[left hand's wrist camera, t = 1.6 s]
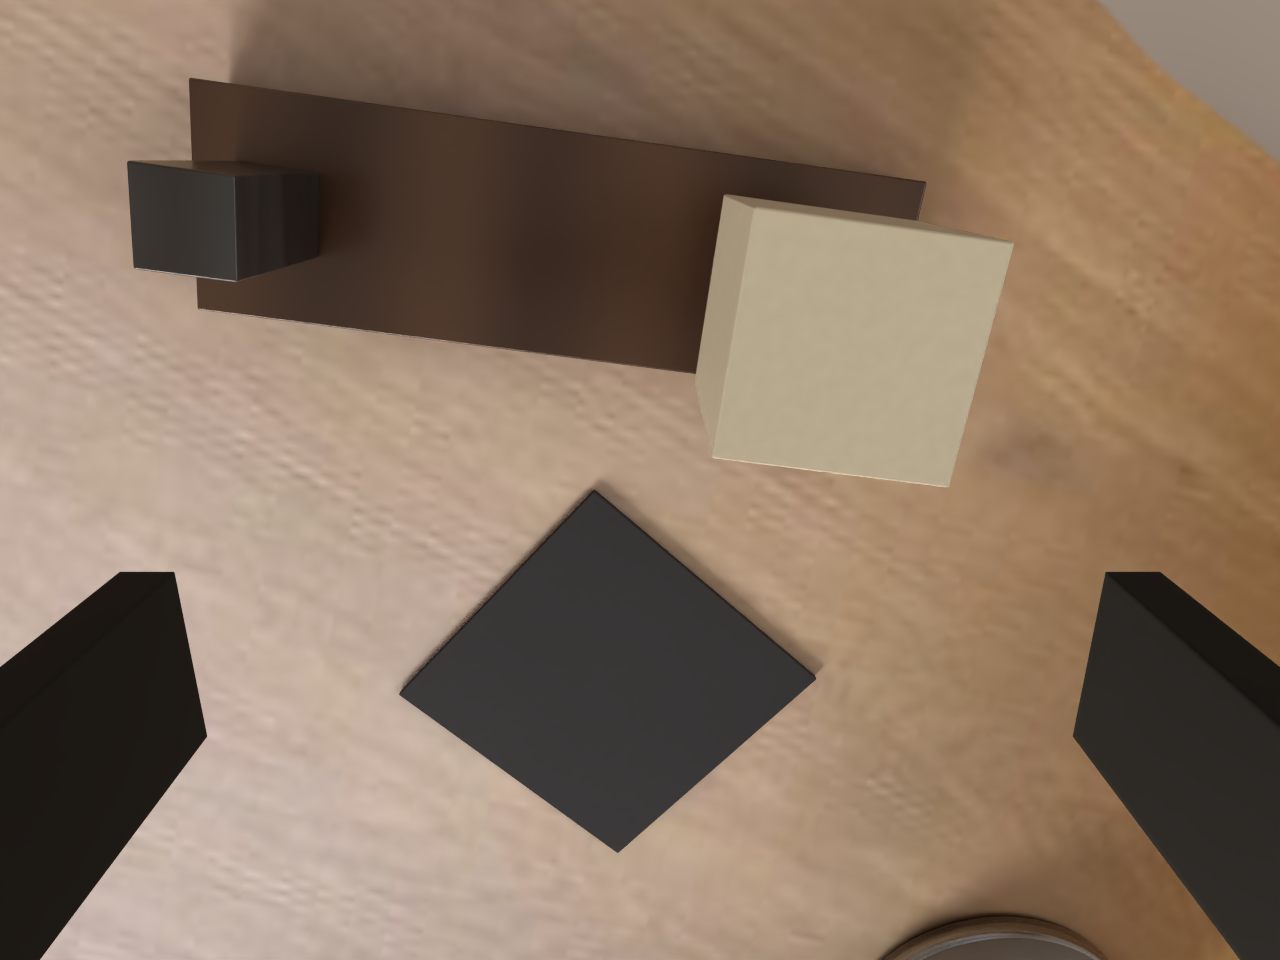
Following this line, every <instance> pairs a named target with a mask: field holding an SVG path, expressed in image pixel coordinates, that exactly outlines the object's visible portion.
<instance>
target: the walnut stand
mask: <svg viewBox="0 0 1280 960" xmlns="http://www.w3.org/2000/svg"><path fill="white" fill-rule="evenodd" d="M189 92H190V118H191V144H192V161H128V162H127V167H128V183H129V199H130V215H131V231H132V248H133V264H134V268H135V269H139V270H146V271H154V272H162V273H169V274H177V275H184V276H192V277H197V299H198V309H199V310H206V311H214V312H221V313H229V314H237V315H245V316H252V317H260V318H268V319H276V320H283V321H291V322H299V323H306V324H314V325H322V326H330V327H337V328H345V329H353V330H360V331H368V332H376V333H384V334H391V335H399V336H407V337H415V338H422V339H430V340H438V341H445V342H453V343H461V344H469V345H476V346H484V347H492V348H499V349H507V350H515V351H523V352H530V353H538V354H546V355H554V356H561V357H569V358H577V359H584V360H592V361H600V362H608V363H615V364H623V365H631V366H638V367H646V368H654V369H662V370H669V371H677V372H685V373H693V374H696V370H697V364H698V357H699V351H700V345H701V338H702V332H703V325H704V319H705V313H706V306H707V300H708V294H709V287H710V281H711V274H712V268H713V262H714V255H715V249H716V242H717V236H718V230H719V223H720V217H721V210H722V204H723V198H724V195H725V194H728V195H735V196H742V197H750V198H757V199H764V200H771V201H778V202H786V203H793V204H800V205H807V206H814V207H821V208H829V209H836V210H843V211H850V212H857V213H865V214H872V215H879V216H886V217H893V218H901V219H908V220H915V221H918V218H919V213H920V209H921V204H922V200H923V196H924V191H925V187H926V182H924V181H917V180H910V179H903V178H896V177H889V176H882V175H875V174H868V173H860V172H853V171H846V170H839V169H832V168H825V167H818V166H811V165H804V164H797V163H790V162H783V161H776V160H768V159H761V158H754V157H747V156H740V155H733V154H726V153H719V152H712V151H705V150H698V149H691V148H684V147H676V146H669V145H662V144H655V143H648V142H641V141H634V140H627V139H620V138H613V137H606V136H599V135H591V134H584V133H577V132H570V131H563V130H556V129H549V128H542V127H535V126H528V125H521V124H514V123H507V122H499V121H492V120H485V119H478V118H471V117H464V116H457V115H450V114H443V113H436V112H429V111H422V110H415V109H407V108H400V107H393V106H386V105H379V104H372V103H365V102H358V101H351V100H344V99H337V98H330V97H323V96H315V95H308V94H301V93H294V92H287V91H280V90H273V89H266V88H259V87H252V86H245V85H238V84H231V83H223V82H216V81H209V80H202V79H195V78H190V79H189Z"/></svg>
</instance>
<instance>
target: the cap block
mask: <svg viewBox="0 0 1280 960" xmlns="http://www.w3.org/2000/svg"><path fill="white" fill-rule="evenodd" d="M1013 246H1014V243H1013V242H1011V241H1007V240H1002V239H998V238H993V237H988V236H984V235H979V234H975V233H970V232H966V231H961V230H956V229H952V228H947V227H943V226H938V225H934V224H929V223H924V222H920V221H915V220H908V219H901V218H893V217H886V216H879V215H872V214H865V213H857V212H850V211H843V210H836V209H829V208H821V207H814V206H807V205H800V204H793V203H786V202H778V201H771V200H764V199H757V198H750V197H742V196H735V195H728V194H725V195H724V198H723V204H722V210H721V217H720V223H719V230H718V236H717V242H716V249H715V255H714V262H713V268H712V274H711V281H710V287H709V294H708V300H707V306H706V313H705V319H704V325H703V332H702V338H701V345H700V351H699V357H698V364H697V370H696V377H695V383H694V385H695V389H696V393H697V397H698V401H699V405H700V409H701V413H702V417H703V421H704V425H705V429H706V433H707V437H708V441H709V445H710V449H711V453H712V457H713V458H716V459H724V460H732V461H740V462H748V463H756V464H764V465H772V466H780V467H788V468H796V469H804V470H812V471H820V472H828V473H836V474H844V475H852V476H860V477H868V478H876V479H884V480H892V481H900V482H908V483H916V484H924V485H932V486H940V487H949V485H950V481H951V477H952V473H953V470H954V466H955V462H956V459H957V455H958V451H959V447H960V444H961V440H962V436H963V432H964V429H965V425H966V421H967V417H968V414H969V410H970V406H971V403H972V399H973V395H974V391H975V388H976V384H977V380H978V376H979V373H980V369H981V365H982V362H983V358H984V354H985V350H986V347H987V343H988V339H989V335H990V332H991V328H992V324H993V320H994V317H995V313H996V309H997V306H998V302H999V298H1000V294H1001V291H1002V287H1003V283H1004V279H1005V276H1006V272H1007V268H1008V264H1009V261H1010V257H1011V253H1012V250H1013Z"/></svg>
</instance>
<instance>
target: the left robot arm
mask: <svg viewBox="0 0 1280 960" xmlns="http://www.w3.org/2000/svg"><path fill="white" fill-rule="evenodd" d="M206 737H207V733H206V728H205V723H204V718H203V713H202V708H201V703H200V698H199V693H198V688H197V683H196V678H195V673H194V668H193V663H192V658H191V653H190V648H189V643H188V638H187V633H186V628H185V623H184V618H183V613H182V608H181V603H180V598H179V593H178V588H177V583H176V578H175V573H174V572H119V573H118V574H117V575H115V576H114V577H113V578H112V579H110V580H109V581H108V582H107V583H105V584H104V585H103V586H102V587H100V588H99V589H98V590H97V591H95V592H94V593H93V594H92V595H90V596H89V597H88V598H87V599H85V600H84V601H83V602H82V603H80V604H79V605H78V606H76V607H75V608H74V609H73V610H71V611H70V612H69V613H68V614H66V615H65V616H64V617H63V618H61V619H60V620H59V621H58V622H56V623H55V624H54V625H53V626H51V627H50V628H49V629H48V630H46V631H45V632H44V633H43V634H41V635H40V636H39V637H37V638H36V639H35V640H34V641H32V642H31V643H30V644H29V645H27V646H26V647H25V648H24V649H22V650H21V651H20V652H19V653H17V654H16V655H15V656H14V657H12V658H11V659H10V660H9V661H7V662H6V663H5V664H4V665H2V666H1V667H0V960H40V959H41V957H42V956H43V955H44V953H45V952H46V951H47V949H48V948H49V947H50V945H51V944H52V943H53V941H54V940H55V939H56V937H57V936H58V935H59V933H60V932H61V931H62V929H63V928H64V927H65V925H66V924H67V923H68V921H69V920H70V919H71V917H72V916H73V915H74V913H75V912H76V911H77V909H78V908H79V907H80V905H81V904H82V903H83V901H84V900H85V899H86V897H87V896H88V895H89V893H90V892H91V891H92V889H93V888H94V887H95V885H96V884H97V883H98V881H99V880H100V879H101V877H102V876H103V875H104V873H105V872H106V871H107V869H108V868H109V867H110V865H111V864H112V863H113V861H114V860H115V859H116V857H117V856H118V855H119V853H120V852H121V851H122V849H123V848H124V847H125V845H126V844H127V843H128V841H129V840H130V839H131V837H132V836H133V835H134V833H135V832H136V831H137V829H138V828H139V827H140V825H141V824H142V823H143V821H144V820H145V819H146V817H147V816H148V815H149V813H150V812H151V811H152V809H153V808H154V807H155V805H156V804H157V803H158V801H159V800H160V799H161V797H162V796H163V795H164V793H165V792H166V791H167V789H168V788H169V787H170V785H171V784H172V783H173V781H174V780H175V779H176V777H177V776H178V775H179V773H180V772H181V771H182V769H183V768H184V767H185V765H186V764H187V763H188V761H189V760H190V759H191V757H192V756H193V755H194V753H195V752H196V751H197V749H198V748H199V747H200V745H201V744H202V743H203V741H204V740H205V739H206ZM1073 737H1074V739H1075V740H1076V741H1077V743H1078V744H1079V745H1080V747H1081V748H1082V749H1083V751H1084V752H1085V753H1086V755H1087V756H1088V757H1089V759H1090V760H1091V761H1092V763H1093V764H1094V765H1095V767H1096V768H1097V769H1098V771H1099V772H1100V773H1101V775H1102V776H1103V777H1104V779H1105V780H1106V781H1107V783H1108V784H1109V785H1110V787H1111V788H1112V789H1113V791H1114V792H1115V793H1116V795H1117V796H1118V797H1119V799H1120V800H1121V801H1122V803H1123V804H1124V805H1125V807H1126V808H1127V809H1128V811H1129V812H1130V813H1131V815H1132V816H1133V817H1134V819H1135V820H1136V821H1137V823H1138V824H1139V825H1140V827H1141V828H1142V829H1143V831H1144V832H1145V833H1146V835H1147V836H1148V837H1149V839H1150V840H1151V841H1152V843H1153V844H1154V845H1155V847H1156V848H1157V849H1158V851H1159V852H1160V853H1161V855H1162V856H1163V857H1164V859H1165V860H1166V861H1167V863H1168V864H1169V865H1170V867H1171V868H1172V869H1173V871H1174V872H1175V873H1176V875H1177V876H1178V877H1179V879H1180V880H1181V881H1182V883H1183V884H1184V885H1185V887H1186V888H1187V889H1188V891H1189V892H1190V893H1191V895H1192V896H1193V897H1194V899H1195V900H1196V901H1197V903H1198V904H1199V905H1200V907H1201V908H1202V909H1203V911H1204V912H1205V913H1206V915H1207V916H1208V917H1209V919H1210V920H1211V921H1212V923H1213V924H1214V925H1215V927H1216V928H1217V929H1218V931H1219V932H1220V933H1221V935H1222V936H1223V937H1224V939H1225V940H1226V941H1227V943H1228V944H1229V945H1230V947H1231V948H1232V949H1233V951H1234V952H1235V953H1236V955H1237V956H1238V957H1239V959H1240V960H1280V667H1279V666H1278V665H1276V664H1275V663H1274V662H1273V661H1271V660H1270V659H1269V658H1268V657H1266V656H1265V655H1264V654H1263V653H1261V652H1260V651H1259V650H1258V649H1256V648H1255V647H1254V646H1253V645H1251V644H1250V643H1249V642H1248V641H1246V640H1245V639H1244V638H1243V637H1241V636H1240V635H1239V634H1237V633H1236V632H1235V631H1234V630H1232V629H1231V628H1230V627H1229V626H1227V625H1226V624H1225V623H1224V622H1222V621H1221V620H1220V619H1219V618H1217V617H1216V616H1215V615H1214V614H1212V613H1211V612H1210V611H1209V610H1207V609H1206V608H1205V607H1204V606H1202V605H1201V604H1200V603H1198V602H1197V601H1196V600H1195V599H1193V598H1192V597H1191V596H1190V595H1188V594H1187V593H1186V592H1185V591H1183V590H1182V589H1181V588H1180V587H1178V586H1177V585H1176V584H1175V583H1173V582H1172V581H1171V580H1170V579H1168V578H1167V577H1166V576H1165V575H1163V574H1162V573H1161V572H1106V573H1105V578H1104V583H1103V588H1102V593H1101V598H1100V603H1099V608H1098V613H1097V618H1096V623H1095V628H1094V633H1093V638H1092V643H1091V648H1090V653H1089V658H1088V663H1087V668H1086V673H1085V678H1084V683H1083V688H1082V693H1081V698H1080V703H1079V708H1078V713H1077V718H1076V723H1075V728H1074V733H1073ZM883 960H1108V959H1107V958H1106V957H1105V956H1104V955H1103V953H1102V952H1101V951H1100V950H1099V949H1097V948H1096V947H1095V946H1094V945H1093V944H1092V943H1090V942H1089V941H1087V940H1086V939H1085V938H1083V937H1081V936H1080V935H1078V934H1076V933H1074V932H1072V931H1070V930H1068V929H1066V928H1063V927H1061V926H1058V925H1055V924H1052V923H1048V922H1044V921H1040V920H1035V919H1029V918H1021V917H985V918H977V919H970V920H965V921H960V922H956V923H952V924H949V925H945V926H942V927H939V928H937V929H934V930H931V931H929V932H926V933H924V934H922V935H920V936H918V937H916V938H914V939H912V940H910V941H909V942H907V943H905V944H903V945H902V946H900V947H899V948H898V949H896V950H895V951H893V952H892V953H891V954H889V955H888V956H887V957H886V958H884V959H883Z"/></svg>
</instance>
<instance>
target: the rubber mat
mask: <svg viewBox="0 0 1280 960" xmlns="http://www.w3.org/2000/svg"><path fill="white" fill-rule="evenodd" d="M815 680H816V677H815V675H813V674H812V673H811V672H810V671H809V670H808V669H806V668H805V667H804V666H803V665H802V664H800V663H799V662H798V661H797V660H796V659H794V658H793V657H792V656H791V655H790V654H789V653H787V652H786V651H785V650H784V649H783V648H781V647H780V646H779V645H778V644H777V643H776V642H774V641H773V640H772V639H771V638H770V637H768V636H767V635H766V634H765V633H764V632H763V631H761V630H760V629H759V628H758V627H757V626H755V625H754V624H753V623H752V622H751V621H750V620H748V619H747V618H746V617H745V616H744V615H742V614H741V613H740V612H739V611H738V610H737V609H735V608H734V607H733V606H732V605H731V604H729V603H728V602H727V601H726V600H725V599H723V598H722V597H721V596H720V595H719V594H718V593H716V592H715V591H714V590H713V589H712V588H710V587H709V586H708V585H707V584H706V583H705V582H703V581H702V580H701V579H700V578H699V577H697V576H696V575H695V574H694V573H693V572H692V571H690V570H689V569H688V568H687V567H686V566H684V565H683V564H682V563H681V562H680V561H679V560H677V559H676V558H675V557H674V556H673V555H671V554H670V553H669V552H668V551H667V550H666V549H664V548H663V547H662V546H661V545H660V544H658V543H657V542H656V541H655V540H654V539H652V538H651V537H650V536H649V535H648V534H647V533H645V532H644V531H643V530H642V529H641V528H639V527H638V526H637V525H636V524H635V523H634V522H632V521H631V520H630V519H629V518H628V517H626V516H625V515H624V514H623V513H622V512H621V511H619V510H618V509H617V508H616V507H615V506H613V505H612V504H611V503H610V502H609V501H608V500H606V499H605V498H604V497H603V496H602V495H600V494H599V493H598V492H597V491H596V490H594V491H593V492H592V493H591V494H590V495H589V496H588V497H587V498H586V499H585V500H584V501H583V502H582V503H581V504H580V505H579V506H578V507H577V508H576V509H575V510H574V511H573V512H572V513H571V514H570V516H569V517H568V518H567V519H566V520H565V521H564V522H563V523H562V524H561V525H560V526H559V527H558V528H557V529H556V530H555V531H554V532H553V533H552V534H551V535H550V536H549V537H548V538H547V539H546V540H545V542H544V543H543V544H542V545H541V546H540V547H539V548H538V549H537V550H536V551H535V552H534V553H533V554H532V555H531V556H530V557H529V558H528V559H527V560H526V561H525V562H524V563H523V564H522V565H521V567H520V568H519V569H518V570H517V571H516V572H515V573H514V574H513V575H512V576H511V577H510V578H509V579H508V580H507V581H506V582H505V583H504V584H503V585H502V586H501V587H500V588H499V589H498V590H497V592H496V593H495V594H494V595H493V596H492V597H491V598H490V599H489V600H488V601H487V602H486V603H485V604H484V605H483V606H482V607H481V608H480V609H479V610H478V611H477V612H476V613H475V614H474V615H473V617H472V618H471V619H470V620H469V621H468V622H467V623H466V624H465V625H464V626H463V627H462V628H461V629H460V630H459V631H458V632H457V633H456V634H455V635H454V636H453V637H452V638H451V639H450V640H449V642H448V643H447V644H446V645H445V646H444V647H443V648H442V649H441V650H440V651H439V652H438V653H437V654H436V655H435V656H434V657H433V658H432V659H431V660H430V661H429V662H428V663H427V664H426V665H425V667H424V668H423V669H422V670H421V671H420V672H419V673H418V674H417V675H416V676H415V677H414V678H413V679H412V680H411V681H410V682H409V683H408V684H407V685H406V686H405V687H404V688H403V689H402V690H401V692H400V694H399V695H400V696H402V697H403V698H405V699H406V700H407V701H409V702H410V703H411V704H413V705H414V706H416V707H417V708H418V709H420V710H421V711H422V712H424V713H425V714H427V715H428V716H429V717H431V718H432V719H433V720H435V721H436V722H438V723H439V724H440V725H442V726H443V727H445V728H446V729H447V730H449V731H450V732H451V733H453V734H454V735H456V736H457V737H458V738H460V739H461V740H462V741H464V742H465V743H467V744H468V745H469V746H471V747H472V748H474V749H475V750H476V751H478V752H479V753H480V754H482V755H483V756H485V757H486V758H487V759H489V760H490V761H491V762H493V763H494V764H496V765H497V766H498V767H500V768H501V769H503V770H504V771H505V772H507V773H508V774H509V775H511V776H512V777H514V778H515V779H516V780H518V781H519V782H520V783H522V784H523V785H525V786H526V787H527V788H529V789H530V790H532V791H533V792H534V793H536V794H537V795H538V796H540V797H541V798H543V799H544V800H545V801H547V802H548V803H549V804H551V805H552V806H554V807H555V808H556V809H558V810H559V811H561V812H562V813H563V814H565V815H566V816H567V817H569V818H570V819H572V820H573V821H574V822H576V823H577V824H578V825H580V826H581V827H583V828H584V829H585V830H587V831H588V832H590V833H591V834H592V835H594V836H595V837H596V838H598V839H599V840H601V841H602V842H603V843H605V844H606V845H607V846H609V847H610V848H612V849H613V850H614V851H616V852H617V853H618V852H620V851H621V850H622V849H623V848H624V847H625V846H626V845H627V844H629V843H630V842H631V841H632V840H633V839H634V838H635V837H637V836H638V835H639V834H640V833H641V832H642V831H643V830H645V829H646V828H647V827H648V826H649V825H650V824H651V823H653V822H654V821H655V820H656V819H657V818H658V817H659V816H661V815H662V814H663V813H664V812H665V811H666V810H667V809H669V808H670V807H671V806H672V805H673V804H674V803H675V802H677V801H678V800H679V799H680V798H681V797H682V796H683V795H685V794H686V793H687V792H688V791H689V790H690V789H691V788H693V787H694V786H695V785H696V784H697V783H698V782H699V781H701V780H702V779H703V778H704V777H705V776H706V775H707V774H708V773H710V772H711V771H712V770H713V769H714V768H715V767H716V766H718V765H719V764H720V763H721V762H722V761H723V760H724V759H726V758H727V757H728V756H729V755H730V754H731V753H732V752H734V751H735V750H736V749H737V748H738V747H739V746H740V745H742V744H743V743H744V742H745V741H746V740H747V739H748V738H750V737H751V736H752V735H753V734H754V733H755V732H756V731H758V730H759V729H760V728H761V727H762V726H763V725H764V724H766V723H767V722H768V721H769V720H770V719H771V718H772V717H774V716H775V715H776V714H777V713H778V712H779V711H780V710H782V709H783V708H784V707H785V706H786V705H787V704H788V703H789V702H791V701H792V700H793V699H794V698H795V697H796V696H797V695H799V694H800V693H801V692H802V691H803V690H804V689H805V688H807V687H808V686H809V685H810V684H811V683H812V682H813V681H815Z"/></svg>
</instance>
